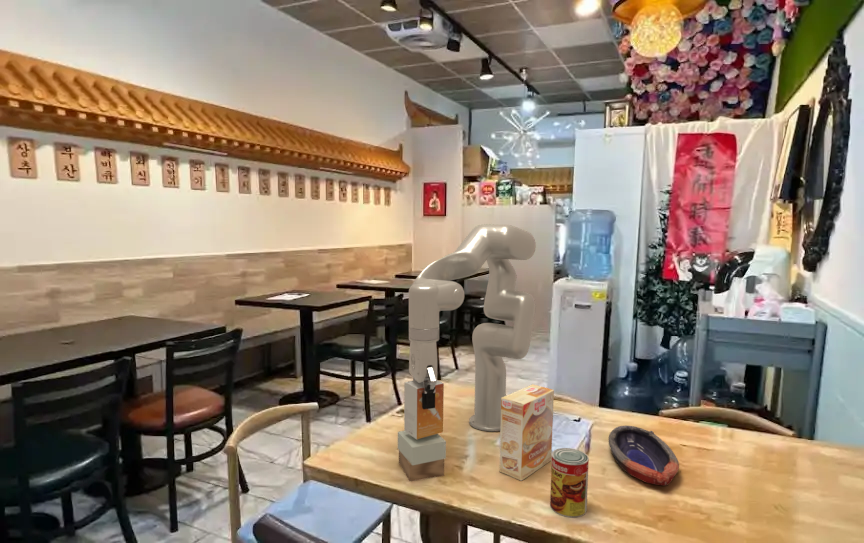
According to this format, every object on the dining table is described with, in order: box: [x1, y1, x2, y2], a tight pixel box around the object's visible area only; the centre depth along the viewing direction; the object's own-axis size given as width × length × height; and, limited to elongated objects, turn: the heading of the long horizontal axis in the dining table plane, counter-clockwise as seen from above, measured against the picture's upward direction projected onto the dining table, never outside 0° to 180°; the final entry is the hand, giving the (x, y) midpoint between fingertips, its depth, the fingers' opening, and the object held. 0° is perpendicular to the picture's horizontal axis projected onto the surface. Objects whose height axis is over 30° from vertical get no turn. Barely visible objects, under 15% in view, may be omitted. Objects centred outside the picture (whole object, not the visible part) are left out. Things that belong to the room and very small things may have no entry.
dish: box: [608, 425, 680, 487], centre depth 137 cm, size 16×31×5 cm, turn 172°
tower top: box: [397, 430, 447, 465], centre depth 132 cm, size 9×10×4 cm
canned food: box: [549, 447, 590, 518], centre depth 115 cm, size 8×8×12 cm
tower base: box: [398, 450, 445, 482], centre depth 133 cm, size 9×10×4 cm
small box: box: [403, 378, 445, 439], centre depth 131 cm, size 8×6×13 cm
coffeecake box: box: [498, 383, 555, 481], centre depth 134 cm, size 15×7×20 cm, turn 137°
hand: (423, 402), depth 131 cm, fingers closed on small box, 7 cm apart
